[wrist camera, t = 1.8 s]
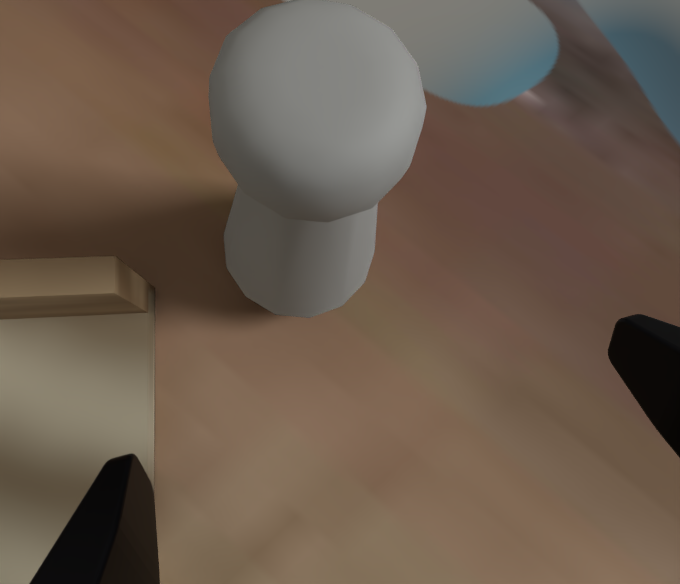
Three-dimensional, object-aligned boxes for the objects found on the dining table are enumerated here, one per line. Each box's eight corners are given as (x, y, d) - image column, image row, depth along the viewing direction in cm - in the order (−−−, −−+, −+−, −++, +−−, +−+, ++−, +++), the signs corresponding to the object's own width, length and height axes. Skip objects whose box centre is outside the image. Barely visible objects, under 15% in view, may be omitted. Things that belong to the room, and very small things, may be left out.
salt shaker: (204, 238, 21) (89, 12, 8) (315, 174, 22) (360, -110, 10) (278, 352, 21) (273, 293, 8) (388, 280, 22) (538, 127, 9)
